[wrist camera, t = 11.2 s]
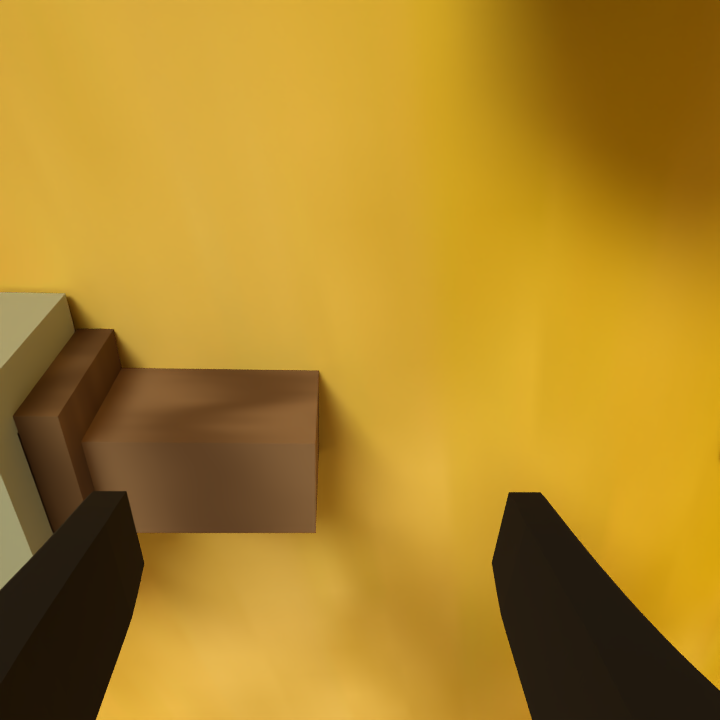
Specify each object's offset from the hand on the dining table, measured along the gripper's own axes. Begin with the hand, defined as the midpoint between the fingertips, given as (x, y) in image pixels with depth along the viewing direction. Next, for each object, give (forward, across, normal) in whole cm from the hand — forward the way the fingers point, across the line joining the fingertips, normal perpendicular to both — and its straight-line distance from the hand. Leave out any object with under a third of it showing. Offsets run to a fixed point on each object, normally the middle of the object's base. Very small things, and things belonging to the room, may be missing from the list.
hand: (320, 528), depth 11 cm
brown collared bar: (+10, +8, +5) cm, 14 cm away
